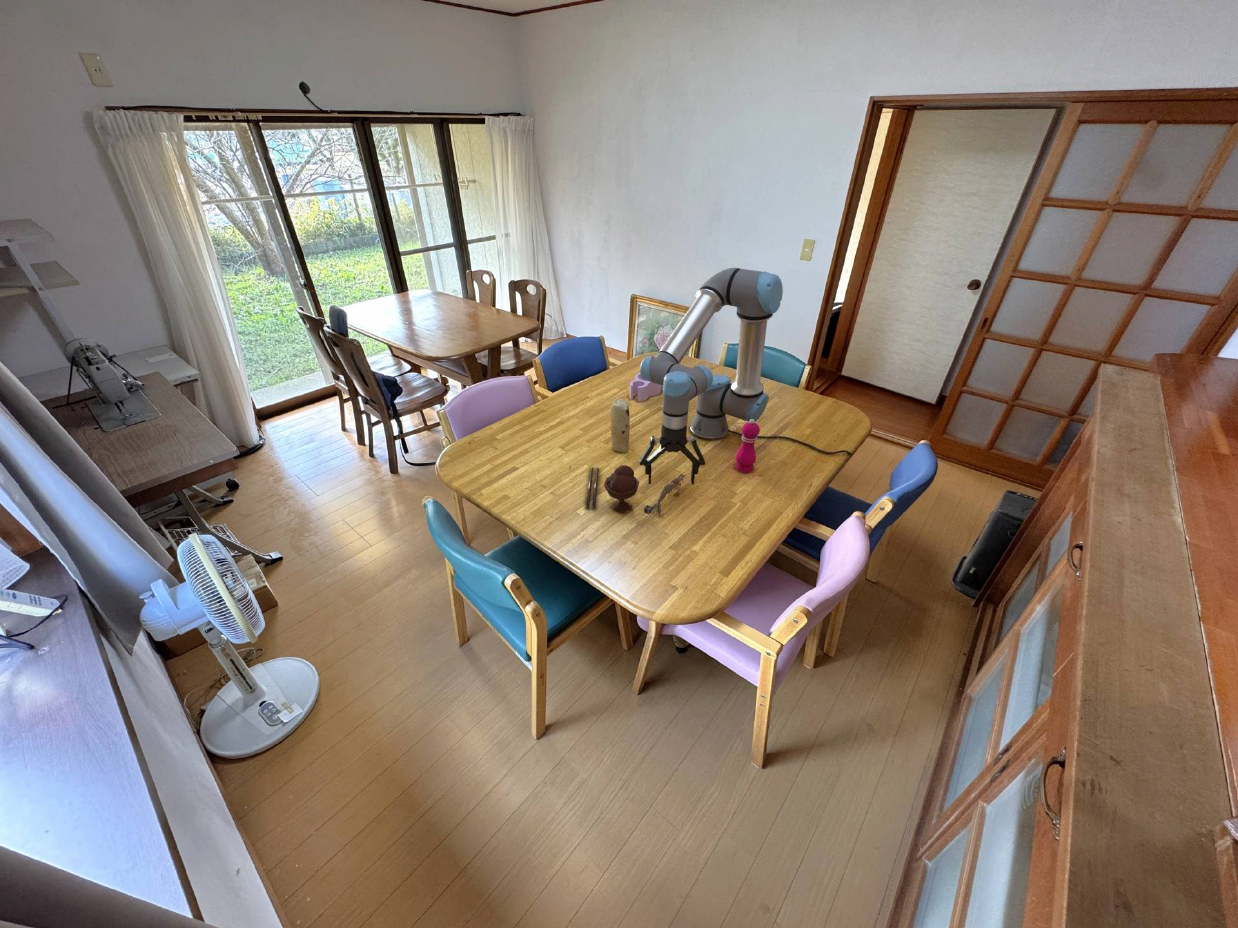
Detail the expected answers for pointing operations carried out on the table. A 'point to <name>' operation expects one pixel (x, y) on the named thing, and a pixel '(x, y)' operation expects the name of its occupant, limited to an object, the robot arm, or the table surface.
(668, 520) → the table surface
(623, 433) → the food model
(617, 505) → the ice cream bowl
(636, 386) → the clip
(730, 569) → the table surface
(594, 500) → the chopsticks
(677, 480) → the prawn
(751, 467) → the pepper mill
